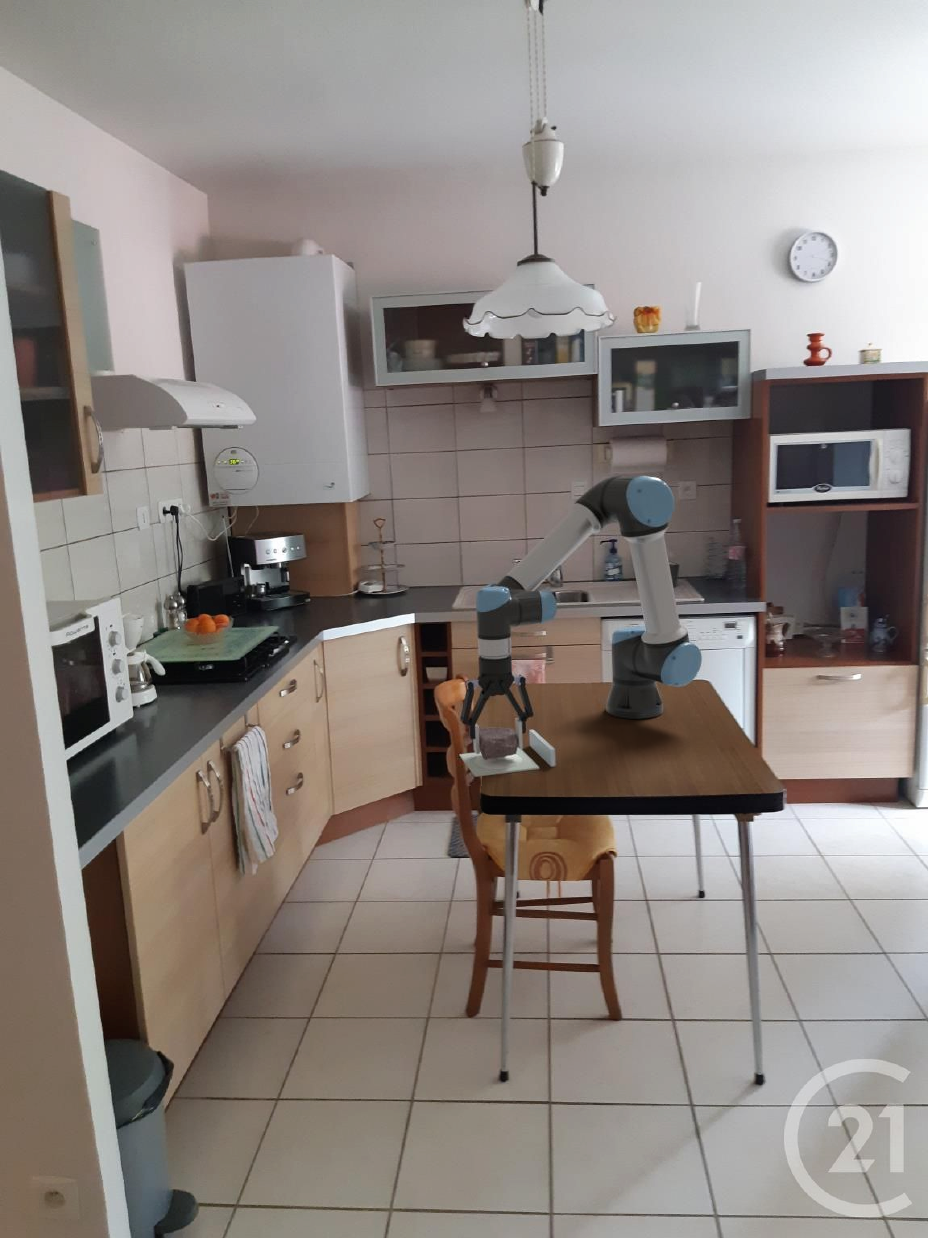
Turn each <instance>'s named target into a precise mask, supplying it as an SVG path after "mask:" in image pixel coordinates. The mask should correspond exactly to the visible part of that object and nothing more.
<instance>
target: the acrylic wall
mask: <svg viewBox="0 0 928 1238" xmlns="http://www.w3.org/2000/svg"><path fill="white" fill-rule="evenodd" d="M528 731H529V732H528V733H529V747H530V748H531V749H533V751H534V752H536V753H537V754H538V756H540V758H542V760H544V761H545V762H546V763H547V764H548V766H550V767H556V749H555V748H554V747H553V746H552V744H550V743H549V742H548V741H547V740H545V738H543V737H542V736H541V735H540V734H539V733H538V732H537V731H536V730H534V729H529V730H528Z"/></svg>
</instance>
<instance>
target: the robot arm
mask: <svg viewBox="0 0 928 1238" xmlns="http://www.w3.org/2000/svg"><path fill="white" fill-rule="evenodd" d="M674 511H675V497H674V494H673V492H672V490H671V488H670V487H669V485H668V484H667V483H666V482H665V481H663V480H662V479H660V478H658V477H651V476H648V475H640V476H639V475H637V476H635V475H634V476H632V475H631V476H623V475H617V476H610V477H607V478H605V479H603V480H600V481H599V482H597V483H596V484H594V485H593V486H592V487H591V488H589V489H588V490H587V491H585V492H584V493H583V494H582V495H581V496H579V497H578V499H577V500H576V501H575V502H574V503H573V504H571V506H570V512H569V513H568V514H567V515H566V516H565V517H564V518H563V519H562V520H561V521H560V522H559V523H558V524H557V525H556V526H555V527H554V528H553V529H551V531H550V532H549V533H548V534H547V535H545V537H544V538H543V539H541V541H539V542H538V544H537V545H535V546H534V547H533V548H532V549H531V551H529V552H527V554H526V555H525V556H524V557H523V558H522V559H521V560H520V561H519V562H518V563H517V564H516V565H515V566H514V567H513V568H512V569H510V571H509V572H508V573H507V574H506V575H505V576H504V577H503V578H502V579H500V581H498V583H489V584H487V585H485V586H483V587H482V588H479V589H478V590H477V591H476V600H475V601H476V602H475V603H476V604H475V610H476V627H477V646H478V647H477V651H478V653H477V654H478V655H479V657H478V678H477V679H474V680H469V679H467V680H465V689H466V690H465V695H464V696H465V697H464V699H463V704H462V710H461V714H460V717H459V719H460V722H461V723H462V725H467V726H468V737H469V739H470V740H472V741H473V751H474V753H476V754H480V752H481V751H480V746H479V730H480V726H479V725H478V724H477V722H478V719H479V718H480V715H482V712H483V710H484V708H485V706H486V703H487V702H488V700H489V698H490V697H495V696H505V697H506V699H507V700H508V702H509V704H510V705H511V707H512V709H513V710H514V712H515V713H516V715H517V716H518V717H517V718H515V719H514V722H515V734H516V736H517V743H518V747H517V748H519V749H522V750H523V746H524V745H523V735H524V734H526V732H527V721H528V719H529V718H532V717H534V710H533V708H532V704H531V702H530V697H529V694H528V691H527V687H526V686H527V685H526V684H527V682H526V681H527V678H526V677H525V676H524V675H522V674H519V675H514V674H513V662H512V656H511V653H512V639H511V638H512V637H511V636H512V634H511V633H512V631H511V628H515V627H521V626H528V625H529V626H530V625H536V624H538V625H539V624H540V625H541V624H542V623H546V622H551V621H552V620H553V619H554V618H555V617H556V614H557V609H558V607H557V600H556V597H555V596H554V594H553V593H552V592H551V591H550V590H548V589H541V590H539V589H537V588H538V587H539V586H540V585H541V584H542V583H544V581H545V580H547V578H548V577H549V576H550V575H551V574H552V573H554V571H555V570H557V569H558V567H559V566H560V565H562V564H563V562H564V561H566V560H567V558H569V557H570V556H571V554H573V552H575V551H576V550H577V549H578V548H579V547H580V546H581V545H582V544H583V543H584V542H585V540H587V539H588V538H589V537H590V536H591V535H592V534H595V535H596V534H598V533H600V532H601V531H602V530H603V528H605V527H607V526H608V525H613V524H618V526H619V531H620V532H619V533H620V536H621V537H622V538H623V539H624V540H626V541H627V542H628V544H629V545H628V546H629V549H630V555H631V560H632V565H633V569H634V570H633V571H634V574H635V580H636V581H635V582H636V586H637V590H638V597H639V600H640V601H639V602H640V606H641V611H642V615H643V618H642V619H643V621H644V626H632V627H623V628H619V629H616V630H614V631H613V633H612V636H611V637H612V640H611V645H610V646H611V663H612V665H611V669H612V670H611V672H612V673H611V674H612V684H611V688H610V691H609V693H608V697H607V699H606V705H605V706H606V707H605V708H606V709H605V711H606V713H607V714H608V715H611V716H612V717H616V718H621V719H632V720H633V719H634V720H635V719H636V720H639V719H642V720H643V719H649V718H654V717H657V716H660V715H662V713H664V703H663V700H662V697H661V694H660V691H659V689H658V688H659V687H658V684H657V683H661V684H664V685H665V686H672V687H676V688H677V687H678V688H679V687H681V688H682V687H685V686H687V685H689V684H690V683H691V682H692V681H694V680H695V678H696V677H697V675H698V673H699V671H700V669H701V666H702V660H703V658H702V657H703V655H702V651H701V649H700V648H699V646H697V645H696V644H695V643H694V642H690V637H689V633H688V629H687V627H685V626H683V625H682V624H681V623H680V617H679V612H678V606H677V602H676V601H677V600H676V595H675V591H674V584H673V578H672V573H671V568H670V562H669V558H668V557H669V556H668V551H667V547H666V545H667V544H666V539H665V533H666V532H667V530H668V529H669V521H670V519H672V516H673V512H674ZM513 683H514V684H515V685H516V686H517V688H518V692H519V695H520V699H521V703H522V705H523V708H524V711H523V709H522V708H521V706H520V705H519V702H518V701H517V700H516V698H515V696H514V693H513V692H512V691H511V690H510V688H511V686H512V685H513ZM478 686H479V687H480V688H481V691H480V693H479V696H478V699H477V701H476V703H475V705H474V707H473V709H471V708H472V703H473V699H474V696H475V691H476V689H477V687H478ZM471 710H472V711H471Z"/></svg>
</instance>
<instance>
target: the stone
mask: <svg viewBox="0 0 928 1238" xmlns="http://www.w3.org/2000/svg"><path fill="white" fill-rule="evenodd" d="M479 746H480V752H481V754H482V756H483V758H484V759H485V760H487V759H493V758H502V757H506V756H511V755H514V754H516V752H517V748H518V743H517V736H516V730H515V729H513V728H512V727H500V726H495V727H493V726H492V727H491V726H490V727H489V726H487V727H479Z"/></svg>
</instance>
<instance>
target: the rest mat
mask: <svg viewBox="0 0 928 1238" xmlns="http://www.w3.org/2000/svg"><path fill="white" fill-rule="evenodd" d="M459 758H461V760H462V761H463V762H464V764H465V766H466V767H467V768H468V769H469V770H470V772H471V773H472V774H473V776H474V777H475V778H476V777H485V776H491V775H493V776H494V775H500V774H509V773H516V772H517V773H518V772H523V771H533V770H534V771H535V770H540V766H539V765H537V763H536V762H535V761H534V760H533V759H532V758H531V757H530V756H529V754H527V753H526V752H525V751H524V750H523V749H519V748H518V747H517V752H516V754H514V755H511V756H506V757H502V758H493V759H487V760H485V759H484V758H483V756H482V754H481V751H480V754H476V753H475V752H467V753H461V754H459Z"/></svg>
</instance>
